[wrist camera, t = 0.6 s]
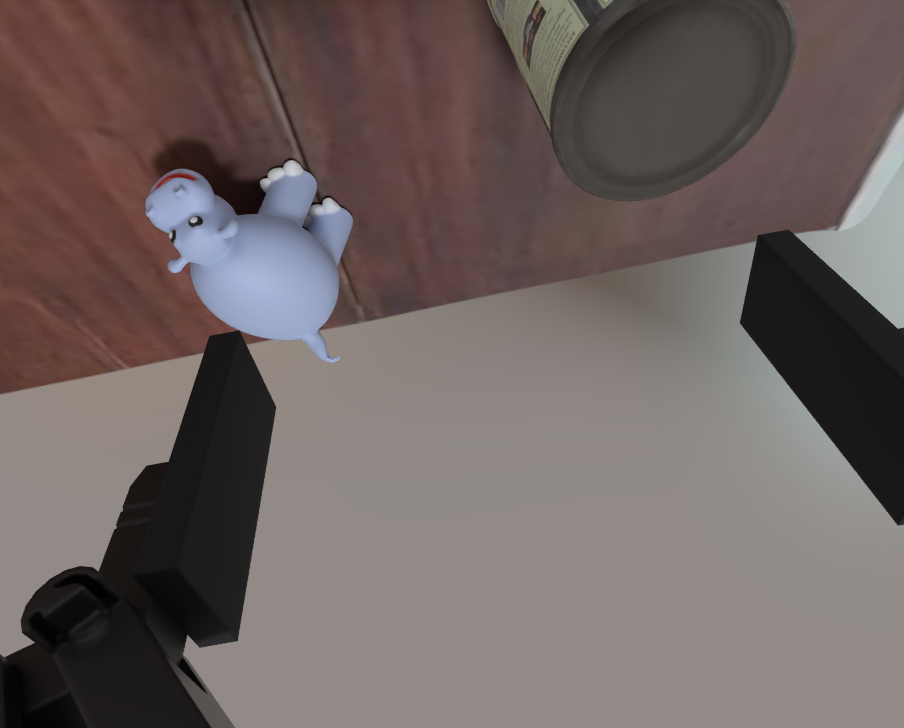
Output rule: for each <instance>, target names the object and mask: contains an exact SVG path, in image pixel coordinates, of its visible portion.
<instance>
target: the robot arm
mask: <svg viewBox="0 0 904 728" xmlns="http://www.w3.org/2000/svg"><path fill="white" fill-rule="evenodd" d="M740 324H741V325H742V326H743V328H744V329H745V330H746V331H747V333H748V334H749V335H750V337H751V338H752V339H753V340H754V342H755V343H756V344H757V346H758V347H759V348H760V349H761V351H762V352H763V353H764V355H765V356H766V357H767V358H768V360H769V361H770V362H771V363H772V365H773V366H774V367H775V369H776V370H777V371H778V372H779V374H780V375H781V376H782V377H783V379H784V380H785V381H786V383H787V384H788V385H789V386H790V388H791V389H792V390H793V392H794V393H795V394H796V395H797V397H798V398H799V399H800V401H801V402H802V403H803V405H804V406H805V407H806V408H807V410H808V411H809V412H810V413H811V415H812V416H813V417H814V418H815V420H816V421H817V422H818V424H819V425H820V426H821V428H822V429H823V430H824V431H825V432H826V434H827V435H828V436H829V438H830V439H831V440H832V442H833V443H834V444H835V445H836V447H837V448H838V449H839V451H840V452H841V453H842V454H843V456H844V457H845V458H846V460H847V461H848V462H849V463H850V464H851V466H852V467H853V469H854V470H855V471H856V472H857V473H858V475H859V476H860V477H861V479H862V480H863V481H864V483H865V484H866V485H867V486H868V488H869V489H870V490H871V491H872V493H873V494H874V495H875V497H876V498H877V499H878V501H879V502H880V503H881V504H882V506H883V507H884V508H885V509H886V511H887V512H888V513H889V515H890V516H891V517H892V518H893V520H894V521H895V522H896V523H897V525H903V524H904V328H900V329H897V328H896V327H895V326H894V325H893V324H892V323H891V322H890V321H889V320H888V319H886V318H885V317H884V316H883V315H882V314H881V313H880V312H879V311H878V310H877V309H875V308H874V307H873V306H872V305H871V304H870V303H869V302H868V301H867V300H865V299H864V298H863V297H862V296H861V295H860V294H859V293H858V292H857V291H856V290H854V289H853V288H852V287H851V286H850V285H849V284H848V283H847V282H846V281H845V280H844V279H842V278H841V277H840V276H839V275H838V274H837V273H836V272H835V271H834V270H833V269H831V268H830V267H829V266H828V265H827V264H826V263H825V262H824V261H823V260H822V259H820V258H819V257H818V256H817V255H816V254H815V253H814V252H813V251H812V250H810V249H809V248H808V247H807V246H806V245H805V244H804V243H803V242H802V241H801V240H800V239H798V238H797V237H796V236H795V235H794V234H793V233H792V232H791V231H790V230H784V231H778V232H773V233H768V234H762V235H758V238H757V242H756V247H755V252H754V257H753V262H752V267H751V272H750V276H749V282H748V286H747V291H746V296H745V301H744V305H743V310H742V315H741V320H740ZM275 410H276V406H275V404H274V402H273V400H272V398H271V395H270V393H269V391H268V389H267V387H266V385H265V383H264V381H263V379H262V376H261V374H260V372H259V370H258V368H257V366H256V364H255V362H254V360H253V358H252V356H251V354H250V351H249V349H248V347H247V345H246V343H245V341H244V339H243V337H242V335H241V333H240V331H234V332H229V333H223V334H218V335H212V336H209V339H208V343H207V346H206V349H205V352H204V355H203V358H202V361H201V364H200V367H199V370H198V374H197V376H196V380H195V382H194V386H193V389H192V392H191V395H190V398H189V401H188V404H187V407H186V410H185V413H184V416H183V420H182V423H181V425H180V429H179V432H178V435H177V438H176V441H175V444H174V447H173V450H172V453H171V456H170V459H169V462H165V463H159V464H154V465H148V466H146V467H145V469H144V470H143V471H142V472H141V474H140V475H139V476H138V477H137V479H136V480H135V481H134V482H133V484H132V485H131V486H130V489H129V491H128V494H127V497H126V499H125V502H124V505H123V511H122V512H121V513H120V516H119V518H118V521H117V524H116V525H117V529H114V532H113V534H112V537H111V540H110V543H109V545H108V548H107V551H106V553H105V556H104V559H103V562H102V564H101V567H100V569H99V572H98V571H97V570H96V569H94V568H93V567H83V566H79V567H75V568H72V569H68V570H65V571H63V572H61V573H60V574H58V575H56V576H54V577H53V578H51V579H49V580H48V581H47V582H46V583H45V584H44V585H43V586H42V587H41V588H39V589H38V590H37V591H36V592H35V594H34V595H33V596H32V598H31V599H30V601H29V602H28V604H27V605H26V607H25V610H24V612H23V615H22V618H21V627H22V633H23V634H24V635H26V636H27V637H29V638H30V639H31V640H33V641H34V642H35V643H34V644H32V645H30V646H27V647H25V648H23V649H21V650H19V651H17V652H15V653H13V654H11V655H8V656H7V657H3V656H2V655H0V728H235V727H234V726H233V724H232V723H231V721H230V720H229V719H228V717H227V715H226V714H225V713H224V711H223V710H222V708H221V707H220V705H219V704H218V702H217V701H216V700H215V698H214V697H213V695H212V694H211V692H210V691H209V689H208V688H207V687H206V685H205V684H204V682H203V681H202V679H201V678H200V677H199V675H198V674H197V672H196V671H195V669H194V668H193V667H192V665H191V664H190V662H189V661H188V660H187V659H186V658H185V657H184V656H183V652H184V648H185V642H186V639H187V635H188V636H189V637H190V638H191V639H192V640H193V641H194V642H195V643H196V644H197V645H198V646H199V647H200V648H201V647H206V646H212V645H217V644H223V643H228V642H235V641H238V635H239V629H240V623H241V617H242V611H243V605H244V599H245V593H246V587H247V581H248V575H249V569H250V562H251V557H252V550H253V544H254V538H255V532H256V526H257V520H258V514H259V508H260V502H261V496H262V489H263V484H264V478H265V472H266V466H267V459H268V453H269V447H270V441H271V435H272V429H273V423H274V417H275Z"/></svg>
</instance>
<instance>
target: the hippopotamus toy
mask: <svg viewBox="0 0 904 728" xmlns="http://www.w3.org/2000/svg"><path fill="white" fill-rule="evenodd" d="M260 186H261V188H262V189H263V190H264V192H265V193H266V196H265V198H264V200H263V203H262V205H261V207H260V210H259V212H258V214H246V215H236V213H235V211H234V209H233V208H232V207H231V205H230V204H229V203H228V202H226V201H225V200H224V199H222V198H221V197H219V196H217V195H215V194H214V193H213V190H212V188H211V186H210V184H209V182H208V181H207V180H206V179H205V178H204V177H203V176H202V175H200V174H199V173H197V172H195V171H192V170H189V169H176V170H173V171H171V172H169V173H167V174H165V175H164V176H163V177H162V178H160V179H159V180H158V181H157V182H156V184H155V185H154V186H153V188H152V190H151V192H150V195H149V196H148V197H147V199H146V204H145V206H146V213H145V214H146V215H147V216H148V217H149V219H150V220H151V222H152V223H153V224H154V225H155V226H156V227H157V228H159V229H161V230H162V231H165V232H167V233H169V238H170V240H171V241H172V242H173V243H174V246H175V247H176V248H177V250H178V251H179V252H180V254H181V257H180V258H179V259H177V260H175V259H172V260H170V261H169V263H168V269H169V270H170V271H171V272H173V273H178V272H180V271H181V270H182V269H183V267H184V266H185V265H186V264H187V263H188V262H190V271H191V278H192V282H193V285H194V287H195V290H196V292H197V294H198V295H199V297H200V299H201V300H202V302H203V303H204V304H205V305H206V307H207V308H208V309H209V310H210V311H211V312H212V313H213V314H214V315H216V316H217V317H218V318H219V319H221V320H222V321H224V322H225V323H227V324H228V325H230V326H232V327H234V328H236V329H238V330H240V331H243V332H245V333H248V334H251V335H254V336H258V337H263V338H268V339H276V340H296V339H302V340H303V341H304V342H305V343H306V344H307V345H308V346H309V347H310V348H311V349H312V351H313V352H314V353H315V354H316V355H317V356H318V357H319V358H321V359H322V360H324V361H326V362H336V361H338V360H339V359H340V357H336V358H331V357H330V356H329V354H328V351H327V346H326V343H325V340H324V338H323V337H322V335H321V334H320V332H319V331H318V329H319V328H320V327H321V326H322V325H323V324H324V323H325V322H326V321H327V320H328V318H329V317H330V315H331V313H332V311H333V309H334V307H335V305H336V302H337V298H338V293H339V274H338V269H337V265H338V263H339V261H340V258H341V255H342V253H343V250H344V247H345V244H346V242H347V239H348V236H349V234H350V231H351V228H352V225H353V218H352V216H351V214H350V213H349V212H348V211H347V210H345V209H344V208H341V207H340V206H339V205H338V204H337V203H336V202H335V201H334V200H333V199H331V198H326V199H324V200H323V202H322V205H320V204H314V205H311V204H312V201H313V199H314V196H315V194H316V190H317V182H316V180H315V178H314V177H313V176H312V175H311V174H310V173H309V172H307V171H305V170H303V169H302V167H301V165H300V164H299V163H297V162H296V161H293V160H290V161H287V162H286V163H285V164H284V166H283V168H274V169H272V170H270V171H269V173H268V178H265V179H262V180H261V181H260ZM302 226H304V227H305V228H307V230H305V229H304V228H302Z"/></svg>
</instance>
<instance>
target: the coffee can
mask: <svg viewBox="0 0 904 728" xmlns="http://www.w3.org/2000/svg"><path fill="white" fill-rule="evenodd" d="M487 2H488V5H489V8H490V10H491V13H492V15H493V18H494V19H495V21H496V23H497V25H498V26H499V28H500V29H501V32H502V33H503V36H504V38H505V40H506V42H507V44H508V46H509V48H510V50H511V53H512V55H513V57H514V59H515V61H516V63H517V65H518V68H519V70H520V72H521V74H522V76H523V78H524V80H525V83H526V85H527V87H528V89H529V91H530V94H531V97H532V98H533V100H534V102H535V105H536V107H537V109H538V111H539V113H540V115H541V117H542V119H543V121H544V123H545V125H546V127H547V130H548V132H549V134H550V136H551V138H552V144H553V148H554V151H555V154H556V156H557V159H558V161H559V163H560V165H561V167H562V169H563V171H564V172H565V174H566V175H567V176H568V178H569V179H570V180H571V181H572V182H573V183H574V184H575V185H576V186H578V187H579V188H581V189H582V190H583V191H586V192H588V193H590V194H592V195H594V196H597V197H601V198H605V199H609V200H615V201H639V200H645V199H651V198H655V197H659V196H662V195H666V194H669V193H671V192H674V191H677V190H680V189H681V188H683V187H686V186H688V185H691V184H693V183H694V182H696V181H698V180H700V179H702V178H703V177H705V176H707V175H708V174H710V173H711V172H713V171H715V170H716V169H717V168H719V167H720V166H721V165H723V164H724V163H725V162H726V161H728V160H729V159H730V158H731V157H732V156H734V155H735V154H736V153H737V152H738V151H739V150H740V149H741V148H742V147H743V146H745V145H746V144H747V142H748V141H749V140H750V139H751V138H752V137H753V136H754V135H755V134H756V132H757V131H758V130H759V129H760V128H761V126H762V125H763V124H764V122H765V121H766V120H767V118H768V117H769V115H770V114H771V113H772V111H773V110H774V108H775V106H776V105H777V103H778V101H779V99H780V97H781V95H782V93H783V91H784V89H785V87H786V84H787V82H788V79H789V76H790V73H791V70H792V66H793V63H794V58H795V51H796V27H795V21H794V17H793V14H792V11H791V8H790V6H789V4H788V3H787V1H786V0H487Z"/></svg>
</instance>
